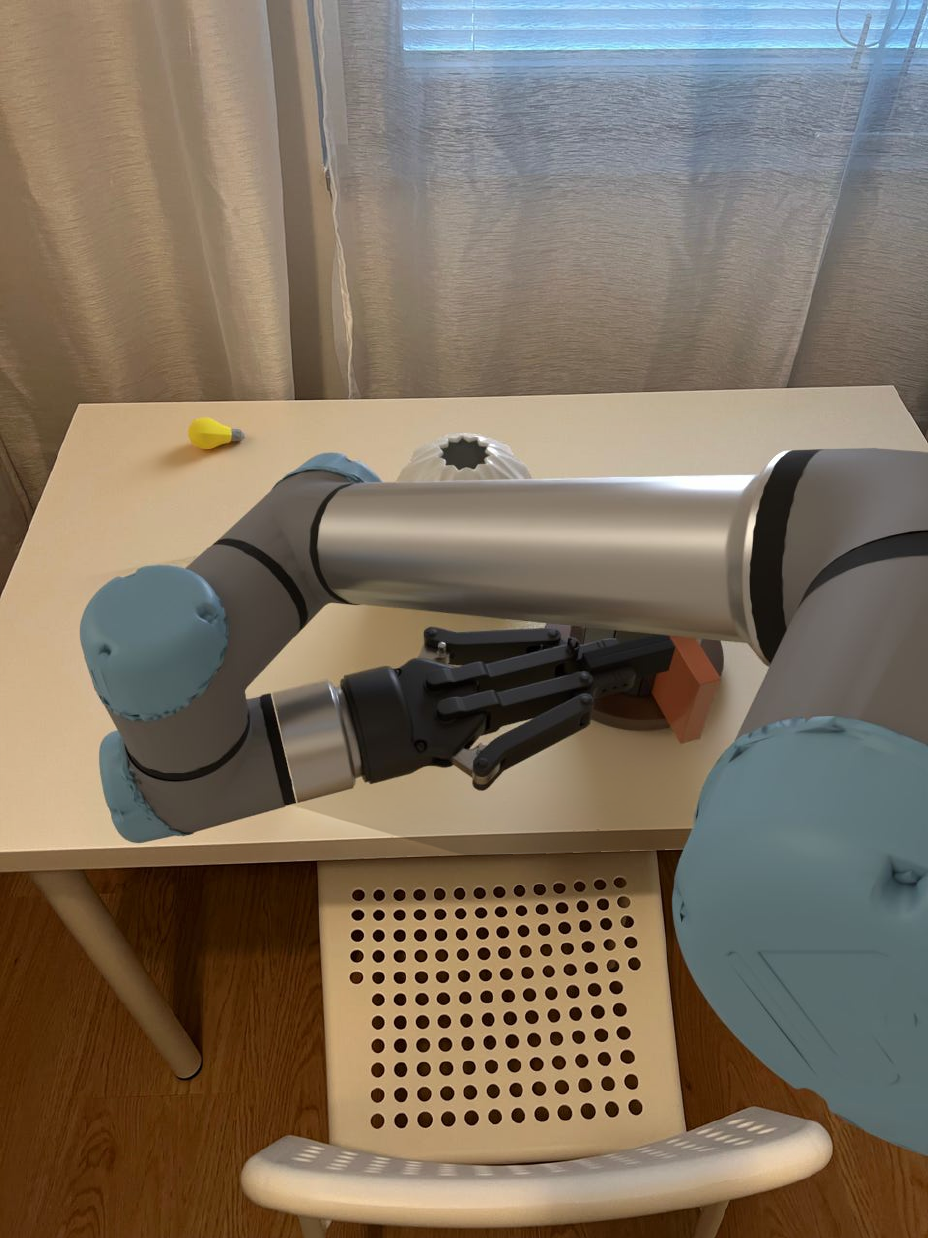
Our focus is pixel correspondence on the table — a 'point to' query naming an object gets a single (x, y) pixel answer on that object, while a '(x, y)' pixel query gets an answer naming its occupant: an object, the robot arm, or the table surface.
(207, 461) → the table surface
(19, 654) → the table surface
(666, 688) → the mug
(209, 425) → the light bulb
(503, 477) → the vase
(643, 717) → the turntable
